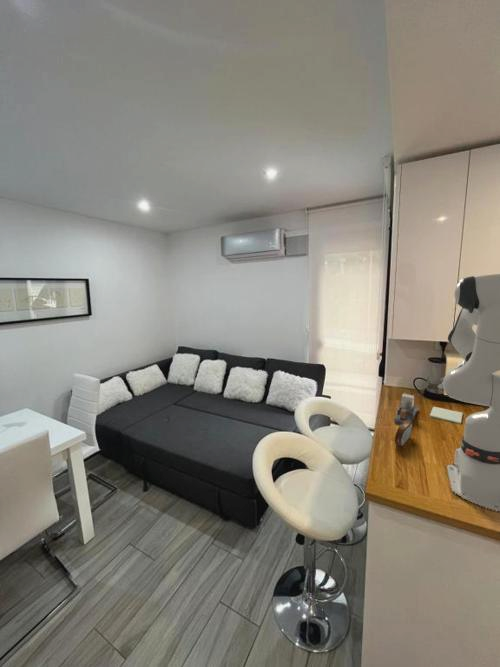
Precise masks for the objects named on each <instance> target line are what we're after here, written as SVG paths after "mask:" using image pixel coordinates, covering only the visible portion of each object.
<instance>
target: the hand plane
mask: <svg viewBox="0 0 500 667" xmlns="http://www.w3.org/2000/svg"><path fill="white" fill-rule="evenodd" d="M418 411H419V406H418V405H413V411H412V413H411V414H407V410H404V409H401V404H400V405H399V407H398V408H397V411H396V412H397V413H396V415H395V417H394V420H393V423H395V424H398V425H401V424H402V423H403V422H404V421H405V420H407V421H409V422H411V423H412V424H413V421H414V419H415V418H416V415H417V414H418Z"/></svg>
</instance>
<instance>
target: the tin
mask: <svg viewBox="0 0 500 667" xmlns="http://www.w3.org/2000/svg"><path fill="white" fill-rule="evenodd" d="M412 430H413V422H412V423H411V422H409V421H407V420H405V421H404V422H403V423H402V424H399V426H398V428H397V430H396V432H395V435H394V444H395V445H398V446H400V447H403V446H404V445H405V444H406V442H407V441H408V440H410V437H411V435H412Z"/></svg>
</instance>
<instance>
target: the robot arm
mask: <svg viewBox="0 0 500 667" xmlns="http://www.w3.org/2000/svg"><path fill="white" fill-rule="evenodd" d="M454 299H455V301H456V304H457V305H458V306H460V307H461V309H460V311H459V314H458V315H457V318H456V322H455V324H454V326H453V328H452V330H451V331H449V334H448V336H447V340H448V342H449V344H450V345H451V346H452V347H453V348H454V349H455V350H456V352H457V353H458V354H459V356H460V357H461V358H462V359H461V360H459V361H457V362H456V365H455V366H454V367H452V368H450V369H449V370H448V371H447V374H445V376H443V377H441V378H440V381H439V382H441V383H439V384H438V385H437V388H438V390H442V389H443V390H444V392H445V394H446V396H448V397H449V398H451V399H454V400H457V401H460V402H464V403H467V404H468V403H469V404H473V405H479V406H484V407H489V408H487V409H485V410H483V411H478V412H473V413H471V414H469V415H468V416H467V417H466V418H465V422H464V431H463V436H461V441H460V443H461V445H460V447H459V448H456V449H455V454H454V462H453V463H452V464H448V465H447V466H446V470H447V475H448V479H449V483H450V487H451V488H452V489H451V488H450V489H451V492H452V491H453V492H454V493H455V494H454V493H453V492H452V493H453V494H454V495H456V494H457V495H459V496H461V497H463V498H465V499H467V500H469V501H472V502H473V503H476V504H478V505H480V506H479V507H481V506H484V507H486V508H485V509H487V508H489V509H488V510H490V509H493V510H497V511H500V374H495V373H496V372H499V371H500V273H494V274H484V275H478V276H474V275H473V276H468V277H463V278H461V279H460V280H459V281H458V282H457V285H456V286H455V289H454ZM474 326H476V330H475V331H474V329H473V327H474ZM457 495H456V496H457ZM463 495H464V496H463ZM459 496H458V497H459ZM461 497H460V498H461ZM469 501H468V502H469ZM473 503H472V504H473ZM476 504H475V505H476ZM478 505H477V506H478ZM484 507H483V508H484ZM493 510H492V511H493ZM497 511H496V512H497Z"/></svg>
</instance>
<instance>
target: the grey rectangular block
mask: <svg viewBox="0 0 500 667" xmlns="http://www.w3.org/2000/svg"><path fill="white" fill-rule="evenodd" d="M414 404H415V395H413V394H408V393H402V395H401V400H400V405H401V409H404V410H407V414H411V413H412V411H413V405H414Z"/></svg>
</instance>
